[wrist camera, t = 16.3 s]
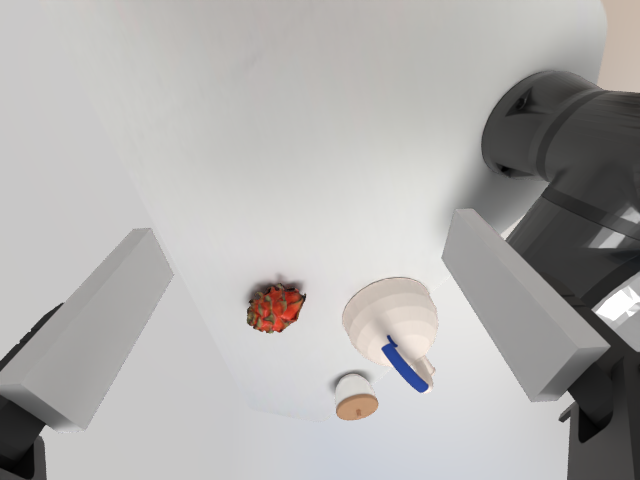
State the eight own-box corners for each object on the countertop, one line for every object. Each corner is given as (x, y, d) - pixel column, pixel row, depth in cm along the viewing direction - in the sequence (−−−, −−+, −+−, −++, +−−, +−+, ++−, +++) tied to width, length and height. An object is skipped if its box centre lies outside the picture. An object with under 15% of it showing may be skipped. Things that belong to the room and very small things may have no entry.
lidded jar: (352, 363, 70) (363, 400, 63) (376, 376, 76) (389, 412, 68) (322, 383, 73) (329, 421, 66) (347, 394, 79) (356, 431, 71)
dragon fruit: (242, 297, 55) (297, 272, 56) (259, 336, 54) (314, 310, 55) (231, 304, 46) (296, 274, 47) (251, 351, 46) (316, 320, 47)
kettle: (374, 351, 69) (403, 431, 54) (323, 314, 59) (342, 400, 44) (443, 308, 64) (497, 383, 49) (401, 259, 54) (452, 335, 39)
